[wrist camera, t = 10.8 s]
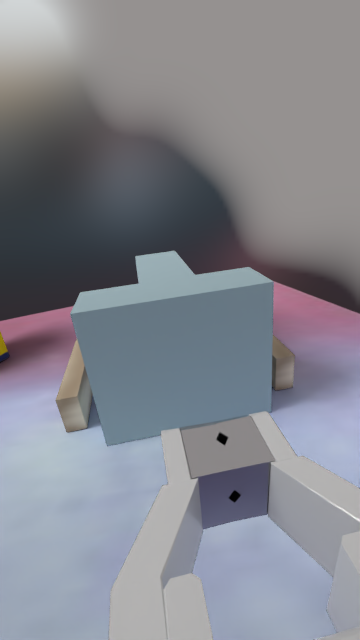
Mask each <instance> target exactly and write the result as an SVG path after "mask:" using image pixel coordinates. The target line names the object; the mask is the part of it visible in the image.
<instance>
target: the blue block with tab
mask: <svg viewBox="0 0 360 640" xmlns="http://www.w3.org/2000/svg"><path fill="white" fill-rule="evenodd" d="M135 258H136V265H137V273H138V281H139V284H133V285H127V286H120V287H113V288H107V289H100V290H94V291H87V292H81V293H80V294H79V297H78V299H77V301H76V303H75V305H74V307H73V309H72V311H71V313H70V315H71V318H72V322H73V325H74V329H75V333H76V336H77V340H78V343H79V347H80V351H81V354H82V358H83V361H84V365H85V369H86V372H87V376H88V379H89V383H90V387H91V390H92V394H93V397H94V401H95V405H96V408H97V412H98V415H99V419H100V422H101V426H102V430H103V433H104V437H105V440H106V444H107V446H110V445H115V444H120V443H125V442H129V441H134V440H139V439H144V438H149V437H154V436H159V435H161V431H163V430H169V429H176V428H180V427H185V426H191V425H197V424H203V423H209V422H214V421H219V420H224V419H229V418H234V417H239V416H244V415H249V414H253V413H258V412H263V411H266V412H268V413H270V412H271V397H272V342H273V287H274V282H273V281H271V280H270V279H268V278H266V277H265V276H263V275H261V274H260V273H258V272H256V271H254V270H253V269H251V268H250V267H246V268H239V269H234V270H226V271H220V272H213V273H206V274H200V275H194V273H193V272H192V271H191V270H190V269H189V267H188V266H187V265H186V264H185V263H184V261H183V260H182V259H181V258H180V257H179V255H178V254H177V253H176V252H175V251H170V252H163V253H156V254H149V255H142V256H136V257H135Z"/></svg>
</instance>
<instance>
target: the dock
mask: <svg viewBox="0 0 360 640" xmlns="http://www.w3.org/2000/svg"><path fill="white" fill-rule="evenodd" d="M294 359H295V355H294V354H293V353H292V352H291V351H290V350H289V349H288V348H287V347H285V346H284V345H283V344H282V343H281V342H280V341H279V340H278V339H277V338H276V337H275V336H274V335H273V342H272V387H273V388H274V389H275V391H276V390H281V389H286V388H291V387H293V378H294ZM92 395H93V394H92V390H91V387H90V383H89V379H88V376H87V372H86V369H85V365H84V361H83V358H82V354H81V351H80V347H79V343H78V340H77V339H76V342H75V345H74V348H73V351H72V354H71V357H70V360H69V363H68V365H67V368H66V371H65V374H64V377H63V380H62V383H61V386H60V389H59V392H58V395H57V398H56V403H57V406H58V409H59V412H60V414H61V417H62V420H63V423H64V426H65V429H66V432H71V431H76V430H81V429H86V428H87V425H88V419H89V413H90V407H91V401H92Z"/></svg>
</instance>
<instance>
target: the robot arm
mask: <svg viewBox="0 0 360 640" xmlns="http://www.w3.org/2000/svg"><path fill="white" fill-rule="evenodd" d="M161 439H162V446H163V453H164V460H165V466H166V473H167V480H168V484H167V485H162V487H161V489H160V491H159V493H158V495H157V497H156V499H155V501H154V503H153V505H152V507H151V509H150V511H149V513H148V515H147V518H146V520H145V522H144V524H143V526H142V528H141V530H140V532H139V534H138V536H137V538H136V540H135V542H134V544H133V546H132V548H131V550H130V552H129V554H128V556H127V558H126V560H125V562H124V564H123V566H122V568H121V570H120V572H119V574H118V577H117V579H116V581H115V583H114V585H113V587H112V589H111V595H110V619H109V640H213V636H212V631H211V627H210V622H209V617H208V612H207V607H206V602H205V597H204V592H203V587H202V582H201V579H200V578H198V577H197V576H195V575H194V574H193V573H192V572H193V568H194V564H195V561H196V557H197V553H198V549H199V545H200V542H201V538H202V534H203V529H207V528H210V527H214V526H218V525H222V524H225V523H229V522H233V521H237V520H242V519H247V518H252V517H257V516H262V515H267V514H268V517H269V518H270V519H271V520H272V521H273V522H275V523H276V524H277V525H278V526H279V527H280V528H281V529H282V530H283V531H284V532H285V533H286V534H287V535H288V536H289V537H291V538H292V539H293V540H294V541H295V542H296V543H297V544H298V545H299V546H300V547H301V548H302V549H303V550H304V551H306V552H307V553H308V554H309V555H310V556H311V557H312V558H313V559H314V560H315V561H316V562H317V563H318V564H319V565H320V566H322V567H323V568H324V569H325V570H326V571H327V572H328V573H329V574H330V575H331V576H332V577H333V582H332V586H331V591H330V595H329V600H328V605H327V609H326V611H327V613H328V615H329V617H330V619H331V621H332V623H333V625H334V628H335V630H336V632H337V633H335V634H331V635H328V636H324V637H321V638H318V639H314V640H360V488H358V487H357V486H355V485H353V484H351V483H350V482H348V481H346V480H344V479H343V478H341V477H339V476H337V475H336V474H334V473H332V472H331V471H329V470H327V469H325V468H324V467H322V466H320V465H318V464H317V463H315V462H313V461H311V460H310V459H308V458H306V457H304V456H299V457H297V455H296V454H295V452H294V451H293V449H292V448H291V446H290V444H289V443H288V441H287V440H286V438H285V437H284V435H283V434H282V432H281V431H280V429H279V428H278V426H277V425H276V423H275V422H274V420H273V419H272V417H271V416H270V414H269V413H268V412H266V411H263V412H258V413H253V414H249V415H244V416H239V417H234V418H229V419H224V420H219V421H214V422H209V423H203V424H197V425H191V426H185V427H180V428H176V429H169V430H163V431H161Z"/></svg>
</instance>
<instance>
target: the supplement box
mask: <svg viewBox="0 0 360 640" xmlns="http://www.w3.org/2000/svg"><path fill="white" fill-rule="evenodd" d="M9 356H10V355H9V353H8V350H7V348H6V345H5V342H4V340H3V337H2V335H1V332H0V362H1V361H3V360H5V359H7V358H8V357H9Z"/></svg>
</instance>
